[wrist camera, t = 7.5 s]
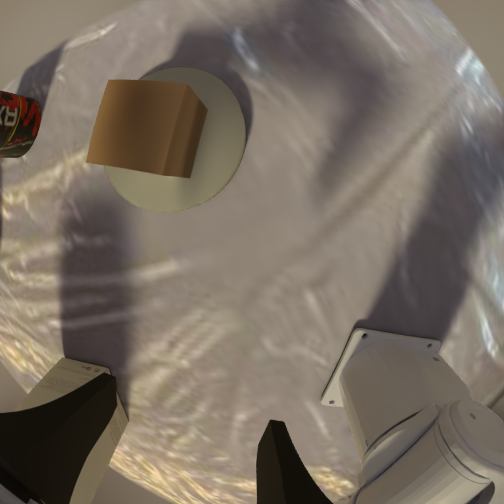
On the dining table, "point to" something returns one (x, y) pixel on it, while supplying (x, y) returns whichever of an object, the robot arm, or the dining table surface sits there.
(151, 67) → the dining table surface
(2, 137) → the deodorant
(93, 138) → the walnut block
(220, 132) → the khaki round plate
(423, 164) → the dining table surface
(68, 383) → the skincare box
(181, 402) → the dining table surface
